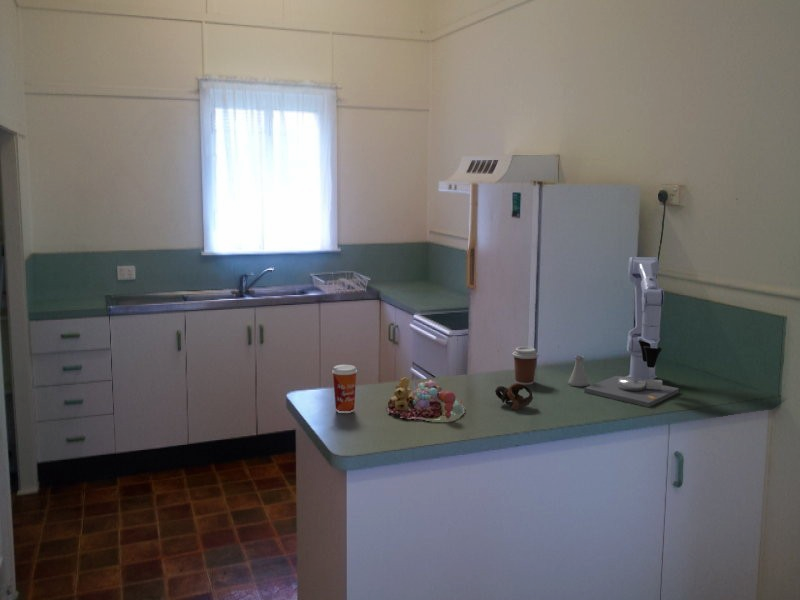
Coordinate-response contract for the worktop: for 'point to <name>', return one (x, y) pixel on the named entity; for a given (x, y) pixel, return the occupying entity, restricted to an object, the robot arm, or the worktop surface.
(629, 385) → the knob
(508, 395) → the brown pretzel
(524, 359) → the coffee cup
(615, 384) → the base plate
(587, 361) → the worktop surface
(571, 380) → the flask
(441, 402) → the candy landscape model
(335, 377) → the paper cup
